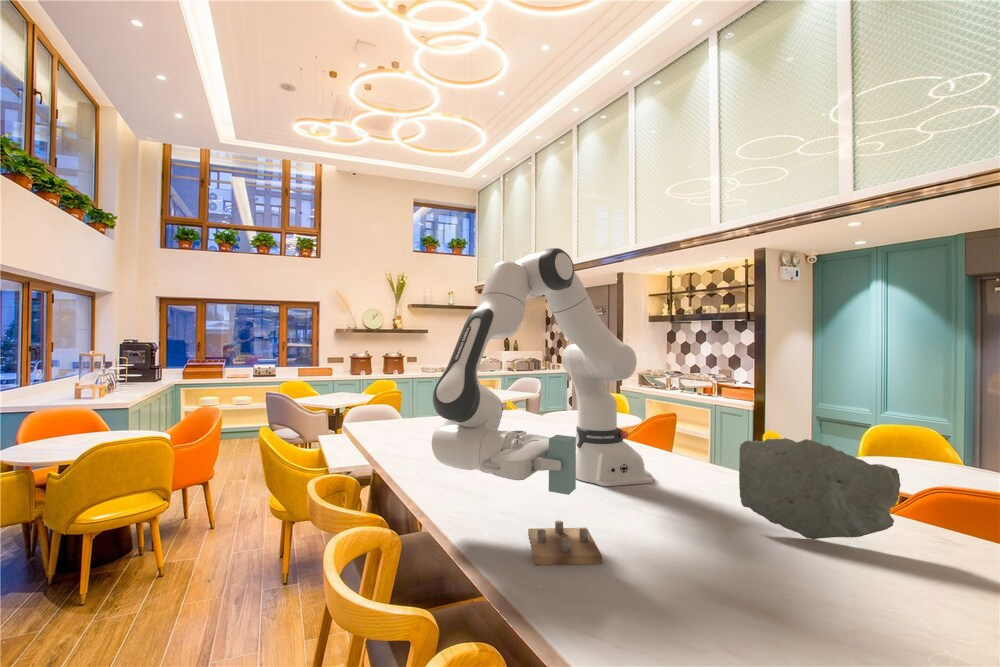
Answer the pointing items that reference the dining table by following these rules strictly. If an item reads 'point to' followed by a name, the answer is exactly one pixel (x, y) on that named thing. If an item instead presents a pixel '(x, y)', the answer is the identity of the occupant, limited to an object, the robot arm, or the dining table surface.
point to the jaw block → (566, 476)
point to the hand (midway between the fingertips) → (566, 461)
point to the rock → (816, 488)
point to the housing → (563, 546)
